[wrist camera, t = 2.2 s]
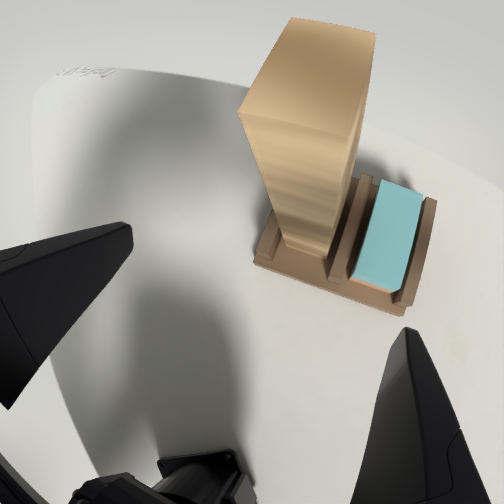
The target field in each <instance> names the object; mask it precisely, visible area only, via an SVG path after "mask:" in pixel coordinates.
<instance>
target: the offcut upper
mask: <svg viewBox="0 0 504 504" xmlns="http://www.w3.org/2000/svg"><path fill="white" fill-rule="evenodd" d="M422 198H423V194H420V193H418V192H415V191H413V190H410V189H407V188H405V187H402V186H399V185H397V184H394V183H391V182H388V181H385V180H383V179H381V182H380V184H379V187H378V189H377V193H376V196H375V200H374V204H373V207H372V211H371V214H370V218H369V221H368V225H367V228H366V232H365V235H364V238H363V242H362V245H361V248H360V251H359V254H358V258H357V261H356V264H355V267H354V270H353V273H352V276H351V277H353V278H356V279H359V280H362V281H365V282H367V283H370V284H373V285H376V286H379V287H381V288H384V289H387V290H390V291H392V292H394V291H397V290H399V289H400V287H401V284H402V281H403V277H404V274H405V270H406V266H407V263H408V259H409V255H410V251H411V248H412V244H413V239H414V235H415V231H416V227H417V222H418V218H419V213H420V208H421V203H422Z"/></svg>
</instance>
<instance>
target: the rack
mask: <svg viewBox="0 0 504 504" xmlns="http://www.w3.org/2000/svg"><path fill="white" fill-rule="evenodd" d="M372 179H373V177H372V176H369V175H366V174H363V173H361V177H360V180H358V179H355V178H352V177H351V182H350V186H349V190H348V195H347V199H346V202H345V205H344V209H343V212H342V215H341V218H340V221H339V224H338V227H337V230H336V233H335V236H334V239H333V242H332V245H331V248H330V251H329V254H328V257H327V259H326V260H324V259H322V258H319V257H316V256H313V255H310V254H307V253H304V252H301V251H299V250H296V249H293V248H290V247H287V246H286V244H285V241H284V239H283V236H282V233H281V230H280V227H279V224H278V221H277V218H276V216H275V213H274V210H273V208H272V211H271V213H270V216H269V218H268V221H267V223H266V226H265V228H264V231H263V233H262V236H261V238H260V241H259V243H258V246H257V248H256V251H257V253H256V255H255V258H254V260H253V263H254V264H255V265H257V266H259V267H262V268H265V269H268V270H270V271H273V272H276V273H279V274H281V275H284V276H287V277H290V278H292V279H295V280H298V281H301V282H304V283H306V284H309V285H312V286H315V287H317V288H320V289H323V290H326V291H329V292H331V293H334V294H337V295H340V296H343V297H345V298H348V299H351V300H354V301H357V302H359V303H362V304H365V305H368V306H371V307H374V308H376V309H379V310H382V311H385V312H388V313H391V314H393V315H396V316H399V317H400V316H404V312H405V309H406V307H409V306H412V305H413V302H414V298H415V295H416V291H417V288H418V284H419V281H420V277H421V273H422V270H423V266H424V262H425V258H426V254H427V249H428V245H429V241H430V236H431V231H432V226H433V221H434V216H435V211H436V205H437V200H434V199H432V198H429V197H426V198H425V199H424V201H423V202H422V203H421V208H420V213H419V218H418V222H417V227H416V231H415V235H414V239H413V244H412V248H411V251H410V255H409V259H408V263H407V266H406V270H405V274H404V277H403V281H402V284H401V287H400V289H399V290H397V291H394V292H392V293H390V294H386V293H383V292H380V291H377V290H374V289H372V288H369V287H366V286H363V285H360V284H358V283H355V282H352V281H349V277H350V274H351V271H352V268H353V265H354V262H355V259H356V256H357V253H358V250H359V246H360V243H361V240H362V237H363V233H364V230H365V227H366V223H367V220H368V216H369V213H370V209H371V206H372V202H373V198H374V196H375V194H376V191H377V189H378V187H379V186H376V185H373V184H371V183H372Z"/></svg>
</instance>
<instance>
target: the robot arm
mask: <svg viewBox="0 0 504 504" xmlns="http://www.w3.org/2000/svg"><path fill="white" fill-rule="evenodd" d="M133 246H134V243H133V233H132V227H131V225H129V224H127V223H124V222H115V223H111V224H106V225H102V226H97V227H93V228H89V229H84V230H80V231H76V232H72V233H68V234H63V235H59V236H55V237H51V238H47V239H43V240H40V241H36V242H32V243H30V244H24V245H20V246H16V247H13V248H9V249H4V250H0V403H2V405H3V406H4V407H5V408H6V409H7V410H9V409H10V408H11V406H12V405H13V404H14V402H15V401H16V399H17V398H18V396H19V395H20V394H21V392H22V391H23V389H24V388H25V387H26V385H27V384H28V382H29V381H30V380H31V378H32V377H33V375H34V374H35V373H36V372H37V370H38V368H39V367H40V366H41V365H42V363H43V362H44V361H45V359H46V358H47V357H48V356H49V354H50V353H51V352H52V350H53V349H54V348H55V347H56V345H57V344H58V343H59V342H60V340H61V339H62V338H63V337H64V335H65V334H66V333H67V332H68V330H69V329H70V328H71V327H72V325H73V324H74V323H75V322H76V321H77V319H78V318H79V317H80V316H81V315H82V313H83V312H84V311H85V310H86V309H87V307H88V306H89V305H90V304H91V303H92V302H93V300H94V299H95V298H96V297H97V296H98V295H99V293H100V292H101V291H102V290H103V289H104V288H105V287H106V285H107V284H108V283H109V282H110V280H111V279H112V278H113V276H114V275H115V274H116V272H117V271H118V269H119V268H120V267H121V265H122V264H123V263H124V261H125V260H126V259H127V257H128V256H129V255H130V253H131V252H132V250H133ZM226 454H230V455H231V458H228V457H227V456H226ZM162 462H163V463H165V465H166V466H164V465H163V464H162ZM157 465H158V468H159V470H160V472H161V475H162V477H163V479H162V480H160V481H159V482H158V483H157V484H156V485H155V486H153V487H152V488H150V487H148V486H146V485H145V484H143V483H141V482H140V481H138V480H136V479H135V477H134V476H133V475H131V474H130V473H128V472H125V473H121V474H116V475H110V476H105V477H99V478H95V479H92V480H89V481H86V482H85V483H84V484H83V485H82V487H81V488H80V489H76V490H75V491H74V492H73V494H72V498H71V500H70V501H69V503H68V504H256V503H255V502H256V499H257V497H256V494H255V492H254V490H253V487H252V485H251V482H250V480H249V477H248V475H247V473H245V472H244V471H242V469H241V466H240V464H239V461H238V459H237V456H236V454H235V452H234V451H233V450H231V449H225V450H219V451H213V452H206V453H199V454H192V455H184V456H175V457H165V458H161V459H159V460H158V461H157ZM0 503H1V504H49V503H48V502H47V501H46V500H45V499H44V498H43V497H41V496H40V495H39V494H38V493H37V492H36V491H35V490H34V489H33V488H32V487H31V486H30V485H29V484H28V483H27V482H26V481H25V480H24V479H23V478H22V477H21V476H20V475H19V474H18V472H17V471H16V470H15V469H14V468H13V467H12V466H11V465H10V464H9V462H8V461H7V460H6V459H5V458H4V457H3V455H2V454H1V453H0ZM350 504H491V502H490V499H489V497H488V494H487V492H486V489H485V487H484V485H483V482H482V480H481V477H480V475H479V473H478V471H477V468H476V466H475V463H474V461H473V459H472V456H471V454H470V451H469V448H468V446H467V443H466V441H465V438H464V435H463V432H462V430H461V429H460V425H459V422H458V420H457V417H456V415H455V412H454V410H453V407H452V405H451V402H450V400H449V397H448V395H447V393H446V390H445V388H444V386H443V383H442V381H441V379H440V377H439V374H438V372H437V370H436V368H435V366H434V363H433V361H432V359H431V357H430V355H429V353H428V351H427V349H426V347H425V344H424V342H423V340H422V338H421V336H420V334H419V332H418V331H417V330H415V329H412V328H409V327H404V328H403V329H402V331H401V332H400V334H399V335H398V337H397V338H396V340H395V341H394V343H393V344H392V346H391V348H390V351H389V355H388V359H387V362H386V366H385V370H384V373H383V377H382V381H381V384H380V387H379V391H378V394H377V398H376V403H375V408H374V413H373V418H372V423H371V427H370V432H369V436H368V441H367V445H366V449H365V453H364V457H363V461H362V465H361V468H360V472H359V476H358V479H357V483H356V486H355V489H354V493H353V496H352V499H351V502H350Z"/></svg>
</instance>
